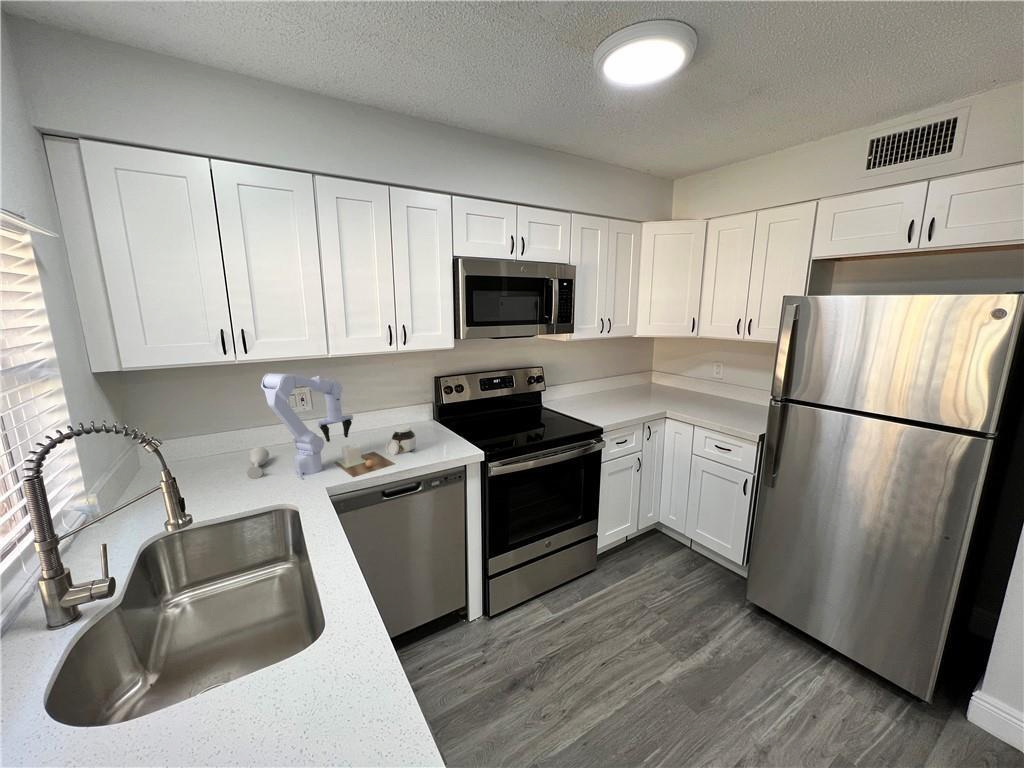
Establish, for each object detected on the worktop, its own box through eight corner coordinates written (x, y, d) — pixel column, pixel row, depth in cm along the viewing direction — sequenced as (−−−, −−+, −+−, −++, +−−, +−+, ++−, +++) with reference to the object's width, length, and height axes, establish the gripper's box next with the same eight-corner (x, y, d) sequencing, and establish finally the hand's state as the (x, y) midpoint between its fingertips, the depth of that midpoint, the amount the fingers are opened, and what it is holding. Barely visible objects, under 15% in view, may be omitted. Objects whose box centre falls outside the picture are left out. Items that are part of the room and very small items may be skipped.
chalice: (247, 462, 160) (252, 445, 176) (241, 478, 160) (246, 460, 176) (268, 466, 163) (271, 449, 179) (262, 482, 164) (266, 463, 180)
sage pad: (346, 468, 169) (346, 467, 169) (337, 462, 175) (337, 461, 175) (367, 462, 175) (367, 461, 175) (358, 456, 181) (358, 455, 181)
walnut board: (353, 479, 160) (353, 477, 160) (333, 464, 175) (333, 462, 174) (396, 466, 172) (395, 463, 172) (374, 453, 187) (373, 451, 186)
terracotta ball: (367, 468, 168) (367, 461, 167) (364, 466, 170) (364, 459, 169) (374, 466, 170) (374, 459, 169) (371, 464, 172) (371, 457, 171)
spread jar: (418, 448, 192) (416, 424, 189) (409, 458, 181) (408, 432, 178) (393, 448, 193) (391, 424, 191) (383, 457, 182) (381, 432, 180)
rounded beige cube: (348, 465, 171) (347, 450, 169) (343, 461, 175) (341, 446, 173) (361, 461, 175) (360, 446, 173) (356, 457, 179) (354, 443, 177)
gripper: (319, 414, 167) (323, 445, 170) (354, 407, 177) (357, 437, 180) (313, 410, 172) (317, 441, 175) (348, 404, 182) (350, 433, 185)
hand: (337, 439), depth 178 cm, fingers open, 7 cm apart
